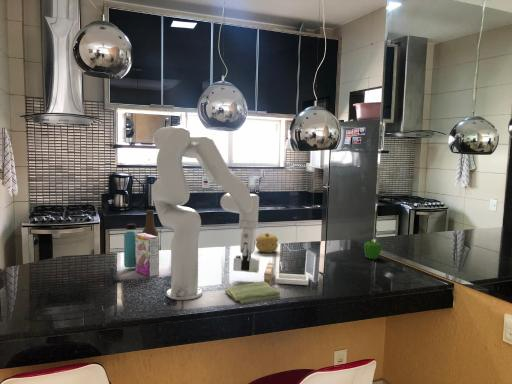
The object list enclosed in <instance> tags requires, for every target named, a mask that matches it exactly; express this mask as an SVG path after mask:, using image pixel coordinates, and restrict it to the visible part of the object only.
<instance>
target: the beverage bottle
mask: <svg viewBox="0 0 512 384" xmlns="http://www.w3.org/2000/svg"><path fill="white" fill-rule="evenodd" d="M125 228H126V230H129V231H126V232H125V233H124V234H123V246H124V247H123V265H124V267H125V268H128V269H129V268H131V269H132V268H136V257H135V255H136V252H135V234H140V233H139V232H138V231H136V230H137V224H136V223H127V224H126V227H125Z"/></svg>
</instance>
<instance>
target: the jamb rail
mask: <svg viewBox="0 0 512 384" xmlns="http://www.w3.org/2000/svg"><path fill="white" fill-rule="evenodd" d="M266 264H267V265H266V267H265V270H264V273H263V275H264V276H263V281H264V282H267V283H268V284H269V285H270V286H271V284H272V280H273V278H274V277H273V276H274V266H275V265H274V264H275V263H274V262H268V263H266Z"/></svg>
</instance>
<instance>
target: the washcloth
mask: <svg viewBox="0 0 512 384" xmlns="http://www.w3.org/2000/svg"><path fill="white" fill-rule="evenodd" d="M224 292H225V293H227V294H228V295H229V296H230V297H231V298H232V299H233V300H234V301H235V302H238V303H240V304H247V303H253V302H258V301H259V302H260V301H264V300H269V299H275V298H276V299H277V298H279V297H280V295H281V292H280V291H279V290H278V289H276V288H274V287H273V286H271V285H269V284H268V283H267V282H264V280H263V281H259V282H255V283H254V282H253V283H246V284H241V285H234V286H230V287H228V288H226V289H225V290H224Z"/></svg>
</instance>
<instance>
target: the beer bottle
mask: <svg viewBox="0 0 512 384" xmlns="http://www.w3.org/2000/svg"><path fill="white" fill-rule="evenodd" d="M145 213H146V215H145V226H144V228H143V229H142V232H141V233H147V234H150V235H153V236H157V237H159V232H158V229H157V228H156V227H155V216H154V213H155V211H154V210H153V209H147V210H146V211H145Z"/></svg>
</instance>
